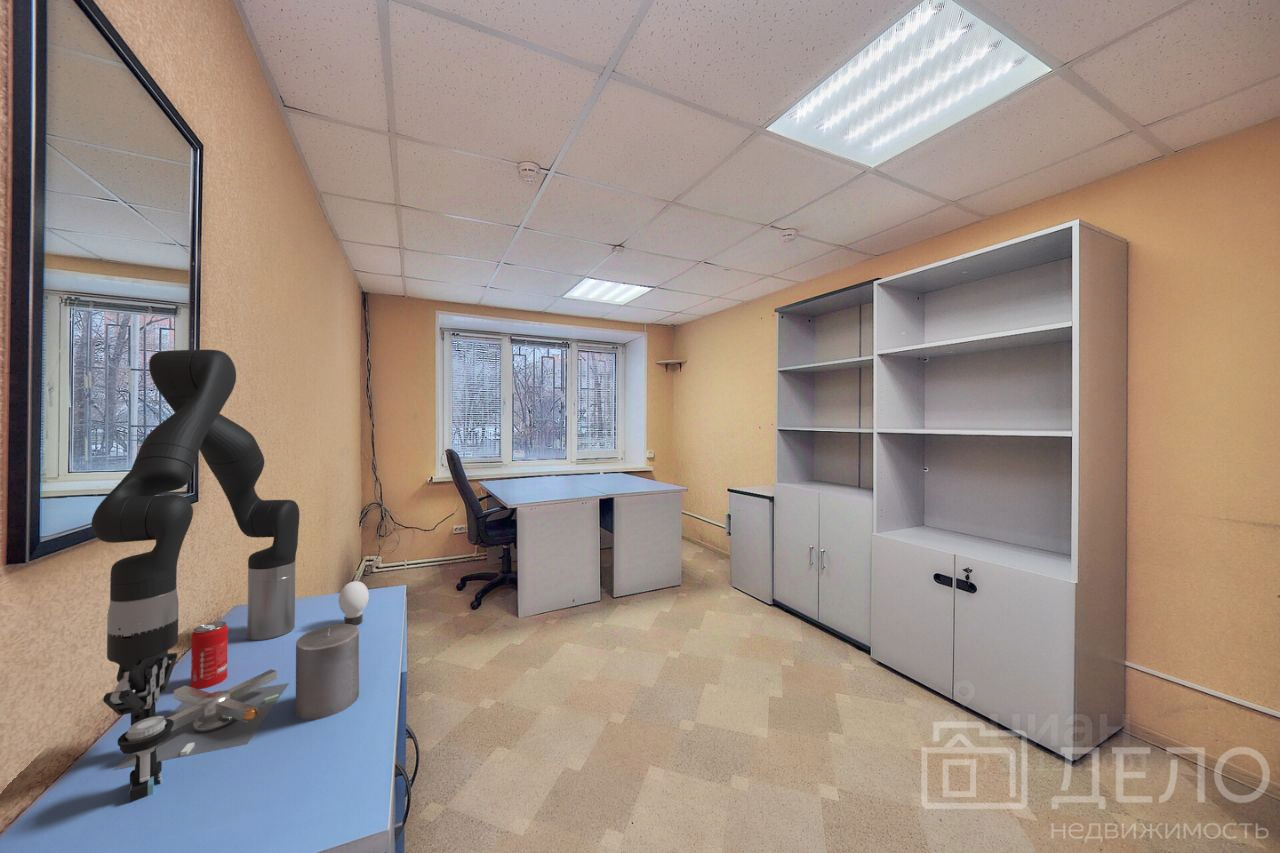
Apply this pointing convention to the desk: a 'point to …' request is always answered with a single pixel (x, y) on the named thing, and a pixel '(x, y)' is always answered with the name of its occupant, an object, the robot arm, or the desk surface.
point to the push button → (145, 753)
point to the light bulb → (353, 602)
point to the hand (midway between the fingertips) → (142, 730)
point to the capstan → (218, 705)
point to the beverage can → (209, 654)
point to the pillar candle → (327, 671)
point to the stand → (233, 735)
